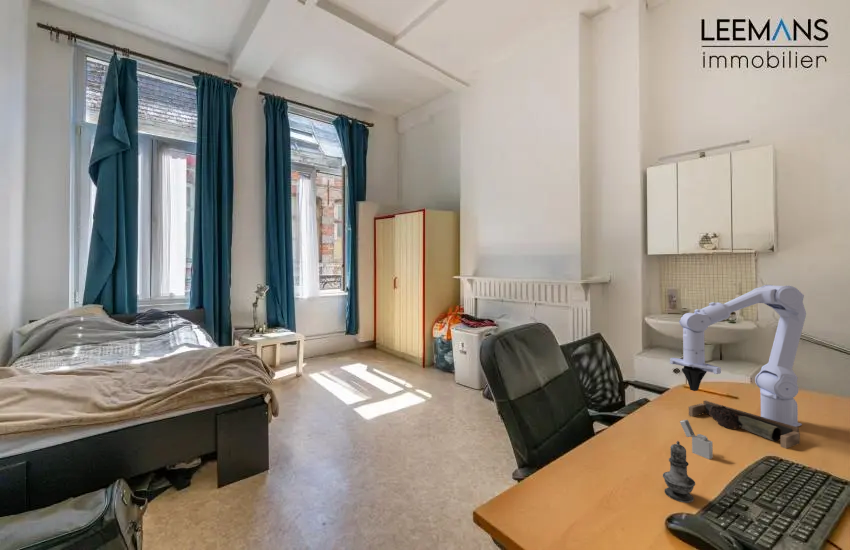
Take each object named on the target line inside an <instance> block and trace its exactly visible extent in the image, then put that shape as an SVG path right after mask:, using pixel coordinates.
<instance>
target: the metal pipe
mask: <svg viewBox="0 0 850 550" xmlns="http://www.w3.org/2000/svg"><path fill="white" fill-rule="evenodd" d="M708 415H709V416H710V418H712V419H713V420H715V421H716V423H717V424H718V425H719V426H721V427H724V428H726V429H731V430H732V429H733V430H734V429H742V430H745V431H748V432H749V433H752V434H755V435H757V436H760V437H762V438H765V439H766V440H767V439H768V440H770V441H772V442H779V441H781V437H780V436H781V435H782V433H781V432H782V431H781V429H780V428H779V427H776V426H773V425H770V424H767V423H764V422H761V421H758V420H755V419H752V418H749V417H746V416H741V415H738V414H737V413H735V412H734V411H732V410H731V409H728V408H725V405H723V406H722V407H721V406H718V407H717V406H711V407H710V410H709V414H708Z"/></svg>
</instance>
